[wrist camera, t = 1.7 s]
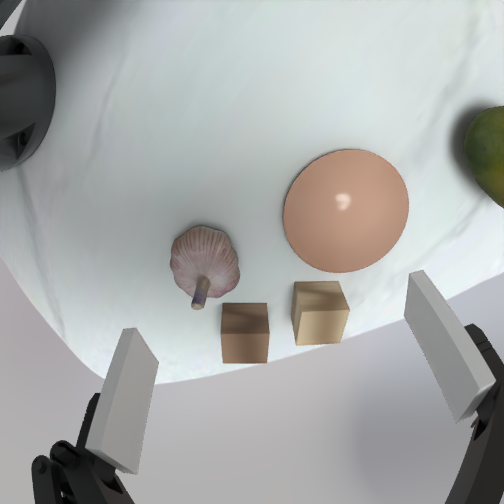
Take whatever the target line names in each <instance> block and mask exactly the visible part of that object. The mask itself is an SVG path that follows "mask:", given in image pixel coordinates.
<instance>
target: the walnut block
mask: <svg viewBox="0 0 504 504" xmlns="http://www.w3.org/2000/svg"><path fill="white" fill-rule="evenodd" d="M269 334H270V333H269V323H268V312H267V303H223V308H222V322H221V345H222V358H223V363H267V357H268V346H269Z"/></svg>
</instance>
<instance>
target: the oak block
mask: <svg viewBox="0 0 504 504" xmlns="http://www.w3.org/2000/svg"><path fill="white" fill-rule="evenodd" d="M349 311H350V309H349V306H348V304H347V301H346V299H345V296H344V294H343V292H342V289H341V287H340V284H339V282H338V281H317V282H295V286H294V294H293V302H292V310H291V319H292V325H293V331H294V336H295V342H296V346H298V345H318V344H334V343H340V341H341V338H342V335H343V332H344V328H345V325H346V322H347V318H348V315H349Z"/></svg>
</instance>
